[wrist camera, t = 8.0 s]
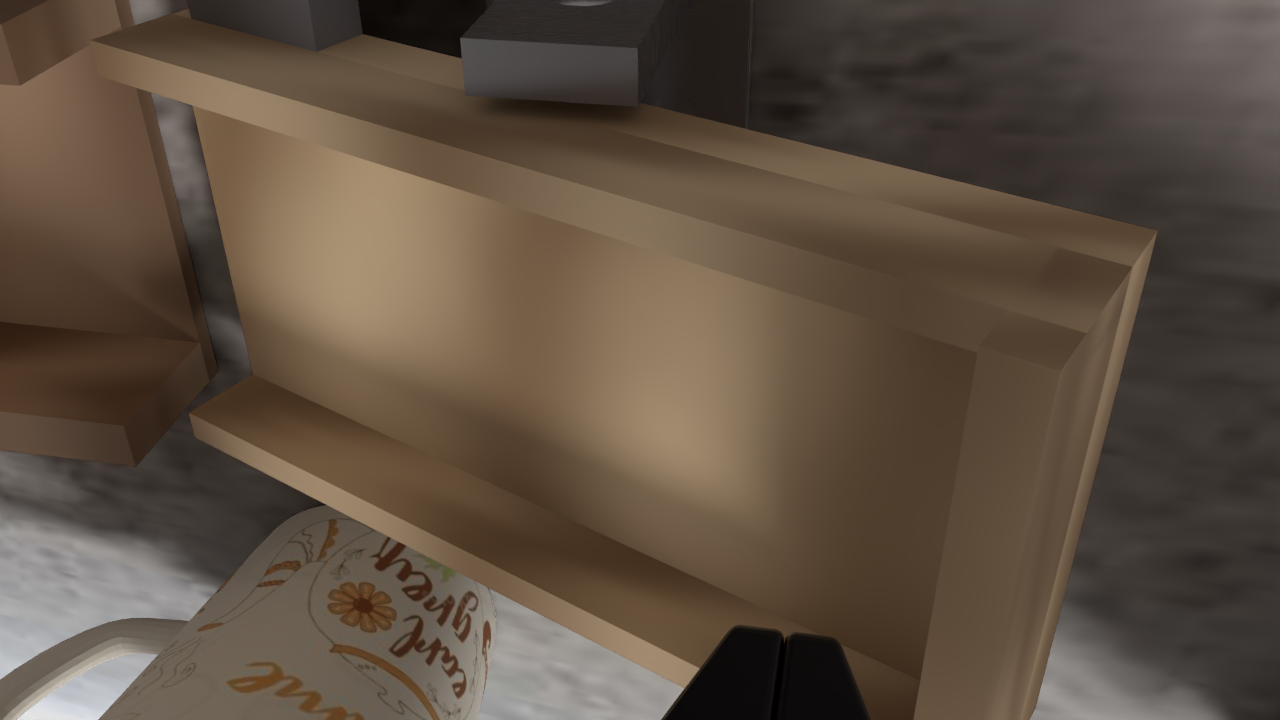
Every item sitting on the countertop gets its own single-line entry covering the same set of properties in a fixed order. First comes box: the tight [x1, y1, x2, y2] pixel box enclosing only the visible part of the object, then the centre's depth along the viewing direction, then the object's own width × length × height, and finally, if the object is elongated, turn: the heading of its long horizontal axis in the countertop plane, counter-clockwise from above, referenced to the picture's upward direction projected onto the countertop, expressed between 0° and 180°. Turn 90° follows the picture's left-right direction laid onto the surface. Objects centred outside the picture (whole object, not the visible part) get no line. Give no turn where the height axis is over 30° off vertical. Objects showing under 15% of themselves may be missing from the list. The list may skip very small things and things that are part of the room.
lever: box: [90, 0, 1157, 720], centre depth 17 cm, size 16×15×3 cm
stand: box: [460, 0, 754, 129], centre depth 21 cm, size 4×11×5 cm, turn 1°
